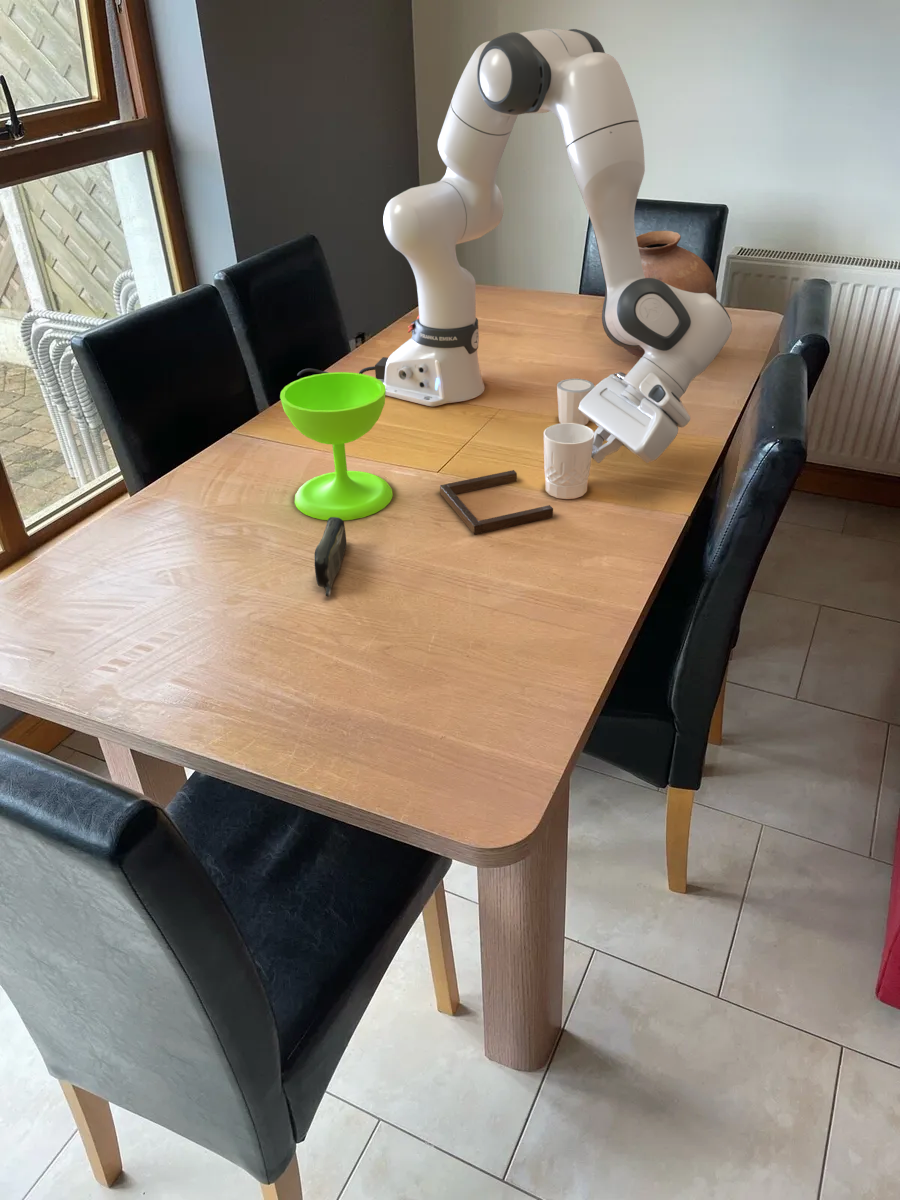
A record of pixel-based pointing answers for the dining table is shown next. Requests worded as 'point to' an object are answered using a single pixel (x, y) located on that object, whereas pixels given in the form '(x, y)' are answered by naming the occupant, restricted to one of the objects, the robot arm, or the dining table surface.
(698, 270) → the pottery
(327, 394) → the wineglass
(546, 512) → the walnut frame
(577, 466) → the white cup
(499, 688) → the dining table surface
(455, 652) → the dining table surface
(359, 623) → the dining table surface
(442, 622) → the dining table surface
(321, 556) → the mobile phone
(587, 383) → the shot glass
